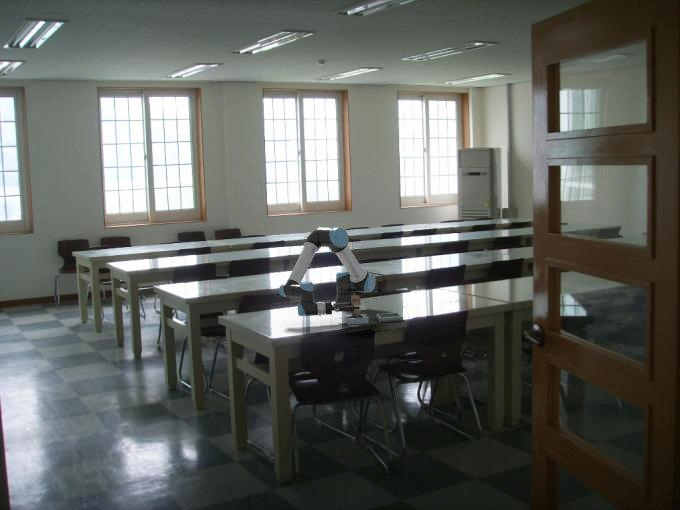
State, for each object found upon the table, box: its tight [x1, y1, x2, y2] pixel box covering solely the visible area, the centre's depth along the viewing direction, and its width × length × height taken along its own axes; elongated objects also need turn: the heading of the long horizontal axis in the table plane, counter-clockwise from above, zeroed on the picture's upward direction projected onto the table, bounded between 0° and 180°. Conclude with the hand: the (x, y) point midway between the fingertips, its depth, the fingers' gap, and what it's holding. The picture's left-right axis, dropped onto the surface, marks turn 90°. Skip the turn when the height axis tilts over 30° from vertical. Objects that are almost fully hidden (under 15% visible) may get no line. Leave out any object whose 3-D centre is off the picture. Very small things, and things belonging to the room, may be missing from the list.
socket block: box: [344, 313, 370, 325], centre depth 429 cm, size 12×12×3 cm
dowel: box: [351, 294, 362, 318], centre depth 429 cm, size 5×5×15 cm
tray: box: [375, 312, 404, 323], centre depth 431 cm, size 13×13×2 cm
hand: (364, 305), depth 429 cm, fingers open, 9 cm apart
